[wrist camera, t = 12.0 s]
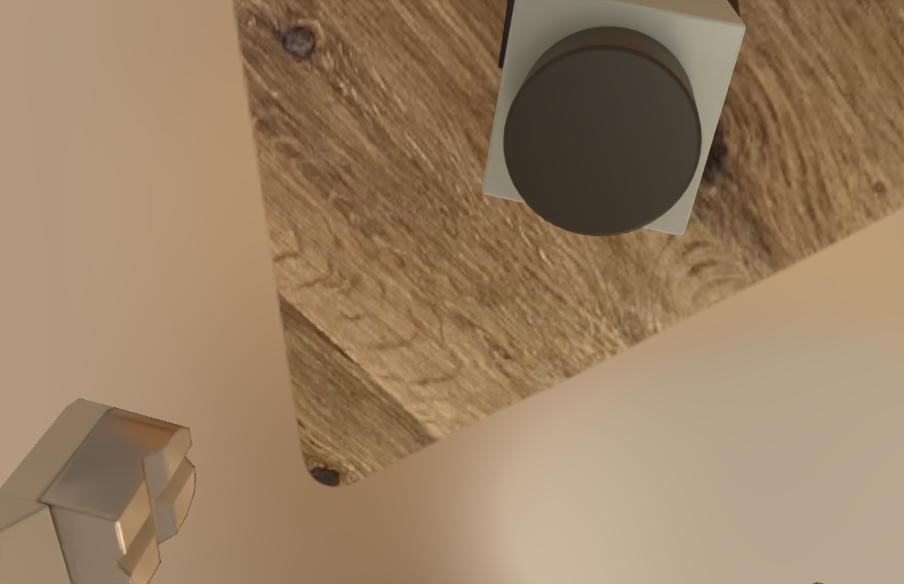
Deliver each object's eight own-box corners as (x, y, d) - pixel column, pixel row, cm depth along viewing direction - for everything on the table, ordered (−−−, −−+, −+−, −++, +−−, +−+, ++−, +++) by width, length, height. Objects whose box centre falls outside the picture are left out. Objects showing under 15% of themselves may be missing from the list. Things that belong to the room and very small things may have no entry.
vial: (501, -4, 13) (461, 232, 15) (763, 45, 13) (688, 282, 15) (572, -65, 27) (547, 60, 29) (697, -43, 27) (664, 82, 29)
